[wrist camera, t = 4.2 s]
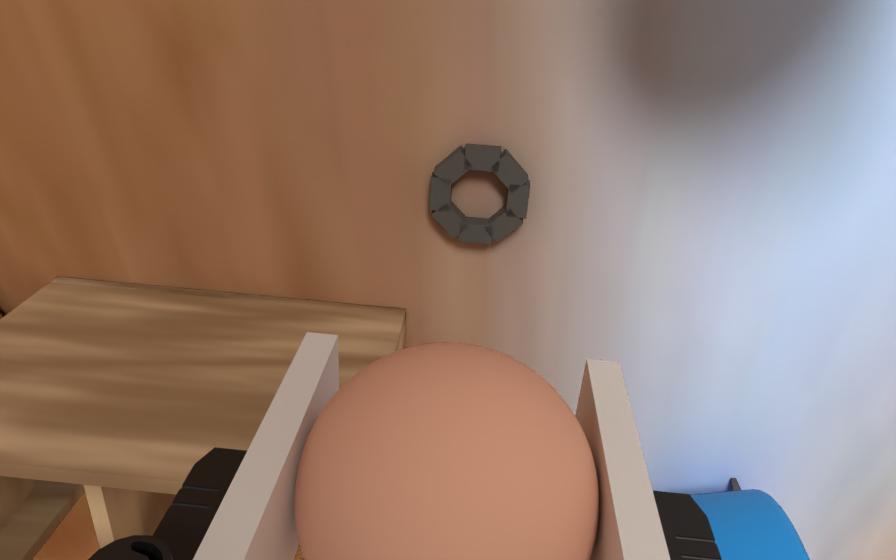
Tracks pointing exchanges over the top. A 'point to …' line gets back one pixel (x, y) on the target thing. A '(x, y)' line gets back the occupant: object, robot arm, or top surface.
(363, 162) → the top surface
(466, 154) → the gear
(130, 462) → the box
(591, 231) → the top surface
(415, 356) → the terra ball
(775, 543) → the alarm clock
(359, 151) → the top surface
